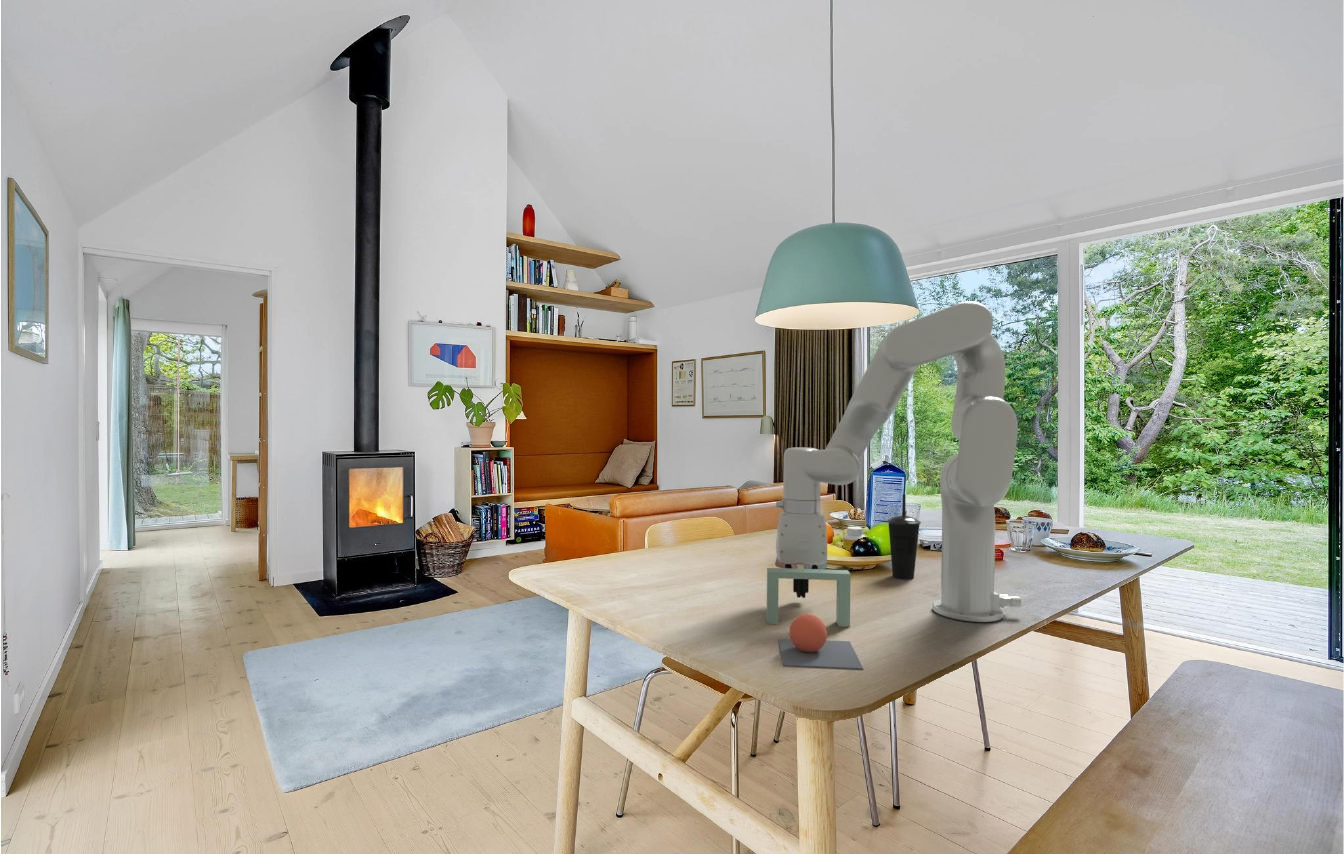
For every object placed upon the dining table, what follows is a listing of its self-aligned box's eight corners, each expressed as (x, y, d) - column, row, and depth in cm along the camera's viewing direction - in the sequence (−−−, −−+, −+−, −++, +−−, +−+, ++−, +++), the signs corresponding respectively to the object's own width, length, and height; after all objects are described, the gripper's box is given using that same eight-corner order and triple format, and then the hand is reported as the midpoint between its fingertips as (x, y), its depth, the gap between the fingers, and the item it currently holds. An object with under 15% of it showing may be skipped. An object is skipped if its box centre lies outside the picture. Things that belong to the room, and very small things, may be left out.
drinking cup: (923, 575, 158) (924, 494, 157) (916, 582, 151) (917, 497, 151) (891, 571, 162) (891, 492, 161) (883, 577, 155) (883, 494, 155)
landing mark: (849, 642, 110) (849, 641, 110) (863, 669, 98) (863, 668, 98) (778, 639, 111) (778, 638, 111) (783, 665, 99) (783, 664, 99)
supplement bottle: (855, 570, 162) (855, 530, 162) (838, 566, 167) (839, 527, 167) (870, 568, 166) (870, 528, 165) (853, 563, 170) (853, 525, 170)
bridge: (766, 618, 123) (767, 567, 122) (847, 621, 121) (847, 570, 121) (767, 623, 120) (767, 571, 119) (850, 626, 118) (850, 573, 118)
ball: (828, 641, 101) (824, 662, 104) (829, 609, 105) (825, 631, 109) (789, 635, 102) (786, 656, 105) (792, 603, 106) (789, 625, 110)
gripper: (765, 509, 130) (765, 599, 130) (841, 510, 129) (840, 602, 129) (764, 504, 138) (763, 590, 138) (835, 505, 136) (834, 592, 136)
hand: (800, 595), depth 133 cm, fingers closed
